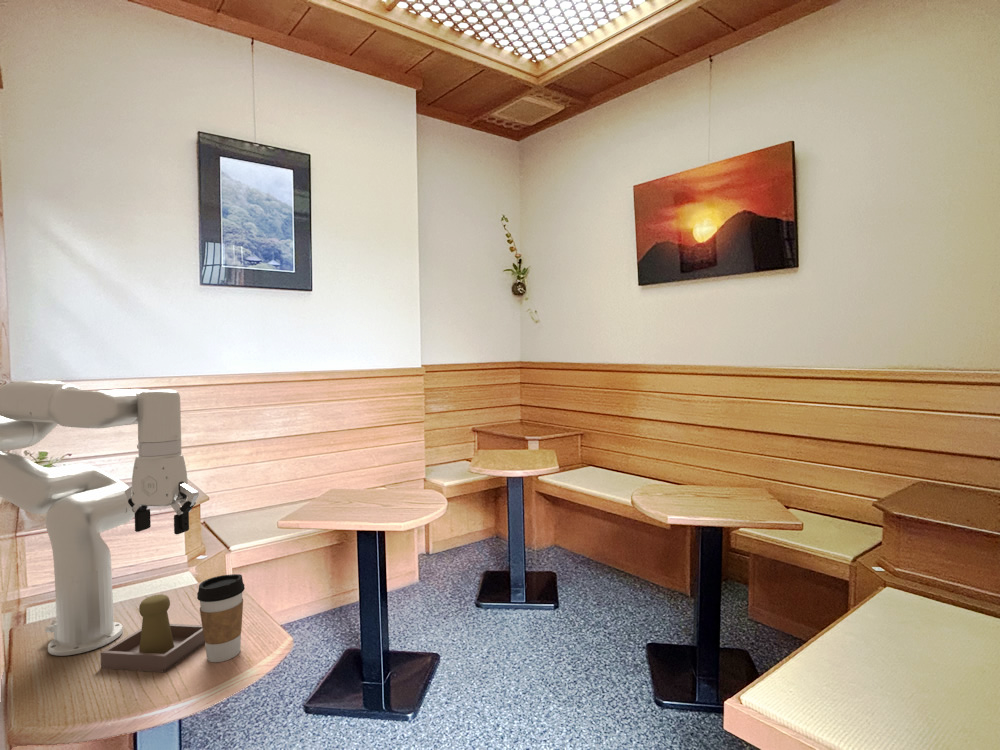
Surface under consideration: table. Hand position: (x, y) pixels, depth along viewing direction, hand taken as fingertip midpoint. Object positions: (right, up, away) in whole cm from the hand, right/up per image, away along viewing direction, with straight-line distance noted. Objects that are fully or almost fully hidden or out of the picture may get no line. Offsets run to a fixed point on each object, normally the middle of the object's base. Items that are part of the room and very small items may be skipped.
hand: (162, 531), depth 110 cm
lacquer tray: (+1, -24, -3) cm, 24 cm away
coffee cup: (+15, -23, -5) cm, 28 cm away
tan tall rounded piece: (+1, -23, -4) cm, 24 cm away
